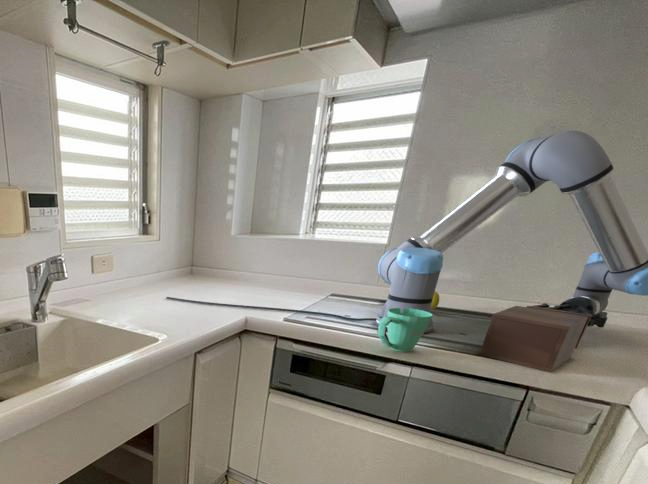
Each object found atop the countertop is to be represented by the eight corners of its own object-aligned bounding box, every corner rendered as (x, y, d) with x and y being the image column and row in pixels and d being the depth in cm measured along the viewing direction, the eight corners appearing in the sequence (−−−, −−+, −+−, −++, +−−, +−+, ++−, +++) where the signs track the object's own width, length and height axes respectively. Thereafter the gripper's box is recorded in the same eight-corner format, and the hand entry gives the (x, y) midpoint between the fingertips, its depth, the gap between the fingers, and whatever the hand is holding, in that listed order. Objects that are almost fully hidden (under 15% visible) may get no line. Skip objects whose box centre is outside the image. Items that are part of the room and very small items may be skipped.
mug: (396, 341, 113) (404, 306, 109) (430, 352, 105) (441, 314, 101) (358, 348, 108) (366, 311, 104) (392, 360, 99) (402, 320, 96)
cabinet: (502, 344, 111) (515, 305, 107) (570, 358, 100) (588, 316, 96) (479, 355, 103) (493, 313, 99) (550, 372, 92) (569, 326, 88)
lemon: (415, 309, 148) (420, 288, 145) (431, 310, 147) (437, 288, 144) (421, 313, 143) (427, 291, 140) (438, 314, 142) (445, 291, 139)
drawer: (522, 333, 117) (534, 303, 113) (582, 345, 107) (597, 312, 104) (497, 345, 107) (508, 312, 103) (560, 359, 97) (575, 323, 94)
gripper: (626, 330, 112) (606, 344, 100) (526, 314, 129) (500, 324, 117) (638, 303, 109) (620, 315, 98) (535, 290, 126) (509, 299, 114)
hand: (554, 320), depth 107 cm, fingers closed on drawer, 9 cm apart
